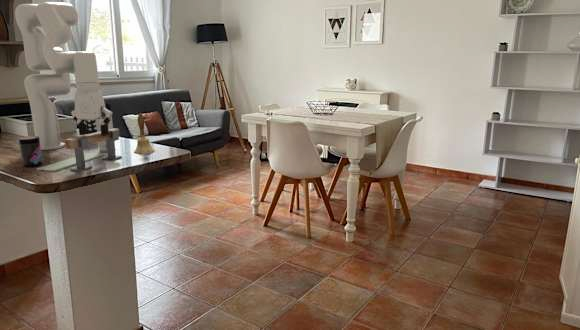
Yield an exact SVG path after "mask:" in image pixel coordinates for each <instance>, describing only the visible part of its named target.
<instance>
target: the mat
mask: <svg viewBox="0 0 580 330" xmlns="http://www.w3.org/2000/svg"><path fill="white" fill-rule="evenodd" d="M106 156H107V153H100V152H99V153H98V152H87V153H84V158H85V163H86V162H89V161H92V160H96V159H98V158H103V157H106ZM75 166H77V165H76V158H75V156H74V157H71V158H68V159H67V158H66V159H63V160H60V161H57V162H54V163H50V164H46V165H43V166H39V167H36V171H41V170H44V171H43V172H52V171H55V172H58V171H61V170H64V168H65V169H68V168H70V167H71V168H72V167H75ZM67 167H68V168H67ZM60 169H61V170H60ZM57 170H58V171H57Z"/></svg>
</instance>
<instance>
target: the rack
mask: <svg viewBox="0 0 580 330" xmlns="http://www.w3.org/2000/svg"><path fill="white" fill-rule="evenodd" d="M100 131H101V130H100ZM110 132H111V139H108V140H104V141H106V145H107V153H106V156H103V157H101V160H102V161H106V162H107V161H109V162H115V161H118V160H120V159H122V158H123V157H122V155H116V145H115V146H114V141H115V142H116V141H119V140H120V138H119V137H120V136H119V135H118V130H113V131H110ZM75 137H76V136H71V137H67V138H66V139H70V138H75ZM79 145H80V147H78V148H75V149H73V150H74V151H73V152H74V157H75V158H76V165H75V166H73V167H71V168H70V167H69V171H70V172H79V173H80V172H81V173H83V172H85V171H88V170H91V169H93V166H92V165H86V162H85V158H84V154H85V152H84V150H87V149H90V146H89V145H88V138H87V137H85V138H81V139H79Z"/></svg>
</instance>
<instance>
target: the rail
mask: <svg viewBox="0 0 580 330" xmlns="http://www.w3.org/2000/svg"><path fill="white" fill-rule="evenodd" d="M108 130H109V135H106V136H102V135H101V131H99V132H95V133H91V134H87V135H86V134H85V135H79V136H74V137H75V138H70V137H69V138H70V139H67V138H66V139H64V143H65V149H67V150H74V149H75V148H78V147H80V145H79V139H81V138H85V137H87V138H88V146H89V145H92V144H96V143H97V144H98V142H100V141H104V140H108V139H111V132H110V131H113V130H118V135H119V137H120V136H121V135H120V133H121V132H120V129H119V128H114V127H113V128H112V129H108Z"/></svg>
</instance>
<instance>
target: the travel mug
mask: <svg viewBox="0 0 580 330" xmlns="http://www.w3.org/2000/svg"><path fill="white" fill-rule="evenodd" d="M105 108H106V109H108V110H109V111H111V112H112V110H111V109H112V107H111V103H106V104H105ZM106 117H107V114H106ZM103 121H104V120H103ZM100 125H102V124H101V123H100V122H99V120H98V119H97V120H96V127H97V132H99V131H100V130H101V128H100ZM112 128H114V124H113V117H111V120H110V122H109V124H108V129H112ZM115 142H116V141H114V146H115V147H116V143H115ZM97 144H98V151H99V153H101V154H107V145H106V141H100V142H97Z"/></svg>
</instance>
